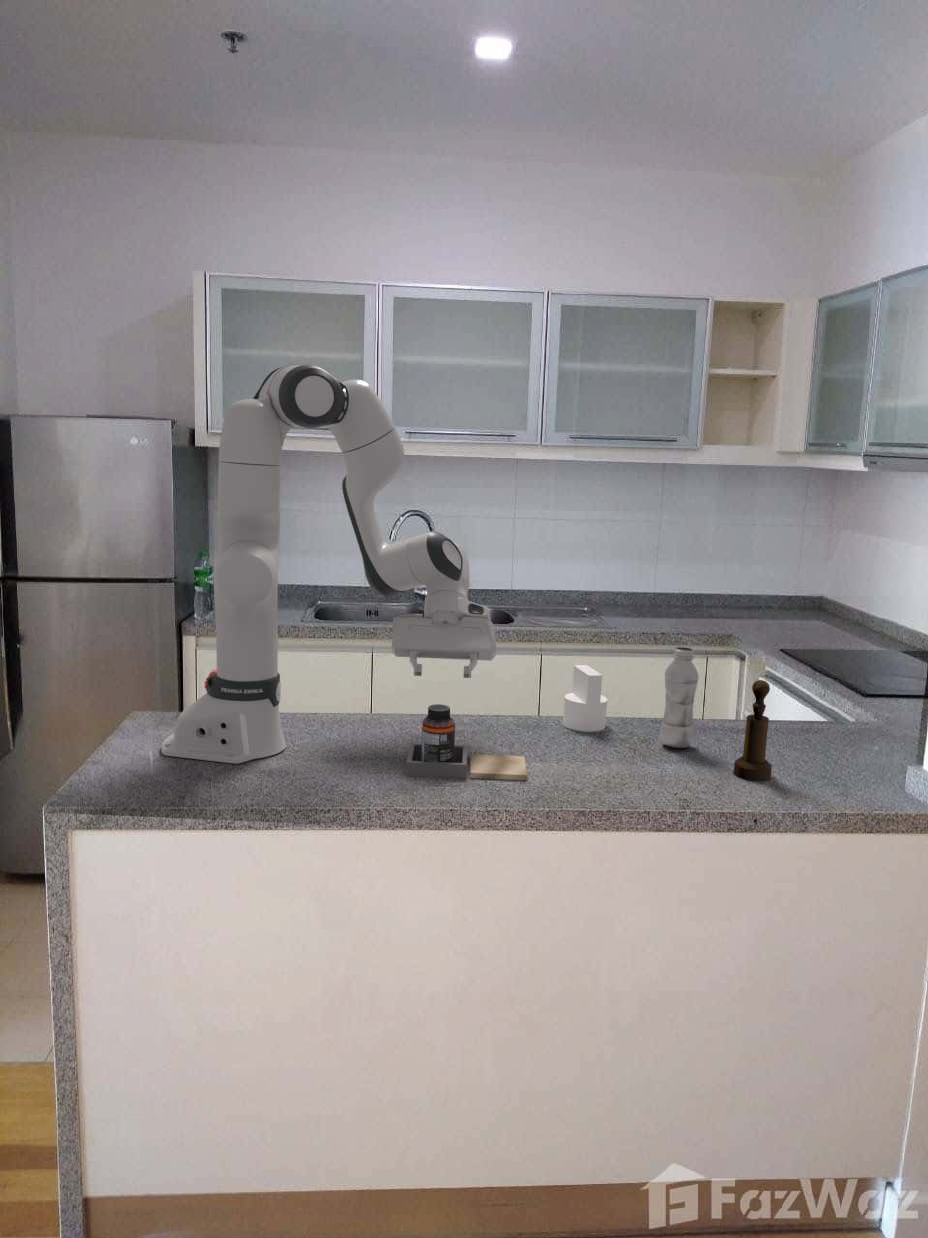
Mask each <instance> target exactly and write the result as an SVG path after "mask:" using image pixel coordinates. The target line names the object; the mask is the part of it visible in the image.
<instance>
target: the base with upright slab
mask: <svg viewBox="0 0 928 1238" xmlns="http://www.w3.org/2000/svg"><path fill="white" fill-rule="evenodd" d="M602 680H603V674H601V673H600V672H598V671H597V670H595V669H594V668H592V667H590V666H589V665H587V664H584V665H583V664H577V665H576V664H575V665H573V678H572V691H571V692H569V693H567V694H565V695H564V703H563V719H562V725H563V726H564V727H565V728H567V729H570V730H574V731H578V732H587V733H588V732H590V733H591V732H599V731H600V732H601V731H603V730H605V729H606V723H607V722H606V721H607V710H608V709H607V708H608V698H607V697H606V696H604V695H602V683H603V681H602Z"/></svg>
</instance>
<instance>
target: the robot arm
mask: <svg viewBox="0 0 928 1238" xmlns="http://www.w3.org/2000/svg"><path fill="white" fill-rule="evenodd" d="M372 387H373V386H371V385H370V384H369V383H368V382H366V381H364V380H361V379H347V380H345V381H340V380H339V379H338V378H336V377H335V376H333V375H332V374H331V373H329V372H328V371H326V370H325V369H323V368H321V367H319V366H317V365H313V364H302V363H292V364H287V365H284V366H282V367H278V368H276V369H274V370H273V371H271V372H270V373H269V374H268V375H267V376H266V377H265V378H264V379H263V382H262V383H261V385H260V386H259V388H258V390H257V392H256V393H255V394H254V397H253V398H246V399H244V398H243V399H241V400H237V401H234V402H233V403H231V404H230V405H229V406H228V407H227V408H226V410H225V412H224V416H223V417H224V418H223V422H222V426H221V432H220V438H219V449H218V472H217V473H218V475H217V525H218V526H217V527H218V528H217V529H218V532H217V534H218V541H217V543H218V551H217V552H218V555H217V561H216V562H215V564H214V567H213V568H214V569H213V597H214V598H213V601H214V618H215V636H216V638H215V642H216V643H215V644H216V646H215V647H216V650H215V651H216V669H213V670H212V671H210V672H209V674H208V676H207V677H206V679H205V681H204V689H205V690H206V691H205V692H206V693H205V694H203V695H202V696H201V697H198V699H196V700H195V701H194V702H193V703H191V704H190V705H188V707H186V708H185V709H184V710H182V711H181V713H180V714H179V715H178V717H177V719H176V722H175V727H174V732H173V733H171V734H170V735H168V736H167V737H166V738H165V739H164V740H163V741H162V743H161V749H160V751H161V754H162V755H164V756H167V757H176V758H182V759H192V760H193V759H194V760H200V761H201V760H202V761H210V762H219V763H227V764H242V763H245V762H249V761H252V760H256V759H262V758H267V757H271V756H274V755H277V754H279V753H281V752H282V751H284V750H285V748H286V747H287V743H286V740H285V737H284V733H283V727H282V721H281V717H280V706H279V704H280V703H281V702H280V701H281V693H282V692H281V690H282V689H281V687H282V686H281V685H282V684H281V683H282V682H281V677H280V676H281V674H280V673H279V671H278V669H279V667H278V665H279V664H278V663H279V661H278V660H279V659H278V658H279V656H278V655H279V654H278V651H279V648H278V647H279V646H278V645H279V644H278V643H279V641H278V640H279V636H278V635H279V633H278V632H279V630H278V629H279V625H278V624H279V623H278V621H279V619H278V615H279V612H278V610H279V609H278V608H279V607H278V606H279V604H278V603H279V602H278V601H279V600H278V598H279V596H278V592H279V591H278V588H279V587H278V586H279V585H278V583H279V579H278V578H279V561H280V558H279V557H280V531H281V529H280V527H281V508H282V507H281V505H282V504H281V503H282V478H283V477H282V476H283V447H284V442H285V439H286V437H287V434H288V433H289V431H290V430H291V429H292V428H294V429H313V428H314V429H315V428H316V429H317V428H321V427H326V428H327V429H328V430H329V431H330V432H331V433H332V435H333V436H334V439H335V440H336V441H335V442H336V444H337V445H338V448H339V449H340V451H341V453H342V456H343V458H344V461H345V468H346V475H345V476H344V478H343V479H342V481H341V484H342V485H341V486H342V487H341V488H342V494H343V499H344V503H345V505H346V510H347V513H348V516H349V519H350V523H351V525H352V529H353V532H354V535H355V538H356V541H357V544H358V548H359V550H360V555H361V557H362V563H363V569H364V574H365V578H366V581H367V583H368V585H369V586H370V588H371V589H372V590H373V591H375V592H377V593H378V594H379V595H382V596H384V597H387V598H392V597H394V596H395V597H396V595H399V594H401V593H403V592H406V591H408V590H412V589H415V588H418V587H423V586H425V587H426V590H427V591H426V592H427V593H426V595H425V598H424V605H423V613H407V612H405V613H400V615H396V616H395V617H394V618H393V619H392V630H393V635H392V640H391V641H392V642H391V651H392V654H393V655H394V656H395V657H397V658H408V659H409V663H410V664H411V666H412V667H413V676H414V677H416V676H417V677H422V674H423V664H422V663H418V659H421V658H423V659H441V660H442V659H443V660H449V659H450V660H462V661H463V660H465V661H466V660H467V661H469V663H468V665H464V666H463V679H471V678H472V671H474V669H475V668H476V666H477V665H478V661H489V662H490V661H493V660H494V659H495V658H496V656H497V655H496V654H497V638H496V630H495V627H494V626H495V625H494V624H493V622H492V621H491V612H490V608H489V607H487V606H484V605H481V604H478V603H475V602H472V601H470V600H469V598H468V593H469V589H470V566H469V565H470V564H469V558H468V554H467V552H466V551H467V550H465V548H464V547H463V546H462V545H461V544H459V543H457V542H454V541H453V540H452V539H450V538H448V537H447V536H446V535H444V534H443V533H441V532H438V531H435V530H432V531H429V532H426V533H422V534H419V535H415V536H412V537H410V538H407V539H405V540H404V539H403V540H401V541H397V542H394V543H387V542H386V541H385V540H384V538H383V533H382V530H381V527H380V524H379V521H378V517H377V514H376V512H375V507H374V502H375V498H376V496H377V494H379V492H380V491H382V490H383V488H385V487H386V486H387V485H388V484H389V483H390V482H392V480H393V479H394V478H395V477H396V476H397V474H398V473H399V471H400V470H401V468H402V465H403V463H404V459H405V449H404V445H403V442H402V438H401V436H400V434H399V432H398V430H397V427H396V426H395V424H394V421H393V420H392V419H393V418H391V415H390V414H389V411H388V410H387V408H386V406H385V405H384V404H383V402H382V400H381V399H380V398H379V396H378V395H377V393H376V391H375V390H374V389H373V388H372Z"/></svg>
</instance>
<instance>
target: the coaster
mask: <svg viewBox="0 0 928 1238" xmlns="http://www.w3.org/2000/svg"><path fill="white" fill-rule="evenodd" d="M469 761H470V765H469V766H470V769H469V773H470V774H469V775H470V777H469V778H470V779H482V780H483V779H484V780H508V781H528V773H527V763H526V760H525V756H524V755H523V756H521V755H503V754H502V755H501V754H499V755H498V754H479V753H471V754H470V760H469Z"/></svg>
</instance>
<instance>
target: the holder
mask: <svg viewBox="0 0 928 1238" xmlns="http://www.w3.org/2000/svg"><path fill="white" fill-rule="evenodd" d="M421 752H422V743H419V742H418V743H416V742H415V743H413V742H410V744H409V750H408V753H407V758H406V766H405V768H406V769H405V771H406V772H405V776H406V775H407V776H406V777H424V778H425V777H426V778H445V779H446V778H448V779H451V778H452V779H467V768H468V767H467V766H468V765H467V764H468V745H461V744H459V745H458V744H455V745H454V760H460V761H461V760H462V762H454V763H446V762H423V761H419V760H418V761H417V760H415V759H422V756H421V755H422V753H421Z"/></svg>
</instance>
